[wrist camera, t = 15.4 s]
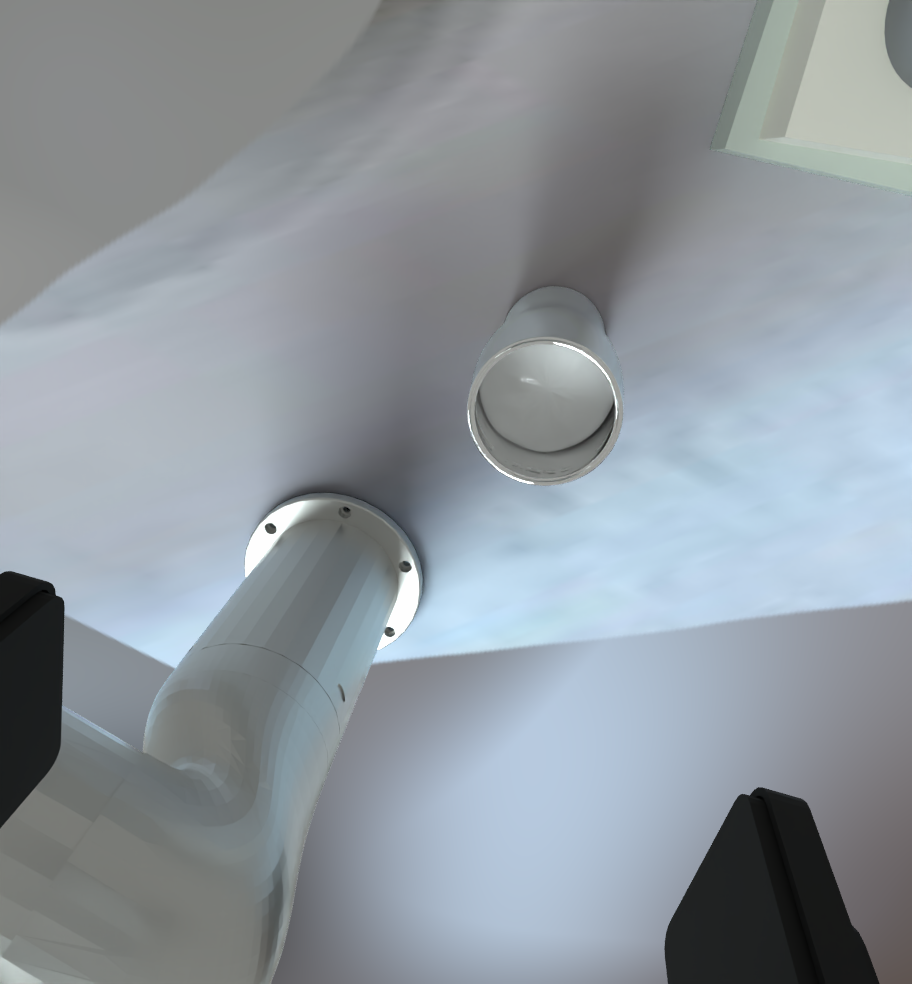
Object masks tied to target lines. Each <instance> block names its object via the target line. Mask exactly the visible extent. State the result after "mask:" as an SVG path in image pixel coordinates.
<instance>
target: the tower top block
mask: <svg viewBox="0 0 912 984" xmlns="http://www.w3.org/2000/svg"><path fill="white" fill-rule="evenodd" d="M888 4H889V0H799V1H798V5H797V8H796V11H795V15H794V18H793V22H792V25H791V29H790V32H789V36H788V39H787V43H786V46H785V49H784V53H783V56H782V60H781V63H780V67H779V70H778V74H777V77H776V81H775V84H774V87H773V91H772V94H771V98H770V101H769V105H768V108H767V112H766V115H765V119H764V122H763V125H762V129H761V132H760V136H759V139H758V140H764V141H770V142H776V143H783V144H789V145H795V146H801V147H807V148H813V149H819V150H825V151H831V152H837V153H843V154H849V155H855V156H861V157H867V158H873V159H879V160H885V161H891V162H897V163H903V164H909V165H912V88H911V87H909V86H908V85H907V84H906V83H905V82H904V81H903V80H902V79H901V78H900V77H899V76H898V74H897V73H896V71H895V70H894V68H893V66H892V64H891V62H890V59H889V57H888V54H887V49H886V45H885V34H884V31H885V18H886V12H887V7H888Z"/></svg>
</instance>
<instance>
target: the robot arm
mask: <svg viewBox="0 0 912 984" xmlns="http://www.w3.org/2000/svg"><path fill="white" fill-rule="evenodd" d="M345 507H348V508H349V509H350V510H347V509H346V508H345ZM273 524H274V525H273ZM405 561H407V562H409V563H406V562H405ZM244 567H245V580H244V581H243V582H242V584H241V585H240V586H239V587H238V589H237V590H236V591H235V593H234V594H233V595H232V596H231V598H230V599H229V600H228V602H227V603H226V604H225V605H224V607H223V608H222V609H221V611H220V612H219V613H218V614H217V616H216V617H215V618H214V619H213V621H212V622H211V623H210V625H209V626H208V627H207V628H206V630H205V631H204V632H203V634H202V635H201V636H200V637H199V639H198V640H197V641H196V643H195V644H194V645H193V646H192V648H191V649H190V650H189V652H188V653H187V654H186V655H185V657H184V658H183V659H182V661H181V662H180V663H179V664H178V666H177V667H176V668H175V670H174V671H173V672H172V674H171V675H170V676H169V677H168V679H167V680H166V682H165V683H164V685H163V686H162V687H161V689H160V691H159V692H158V694H157V696H156V698H155V700H154V703H153V705H152V708H151V710H150V713H149V716H148V720H147V725H146V729H145V735H144V743H143V752H141V751H139V750H138V749H136V748H134V747H132V746H131V745H129V744H127V743H126V742H124V741H122V740H121V739H119V738H117V737H116V736H114V735H112V734H111V733H109V732H107V731H105V730H104V729H102V728H100V727H99V726H97V725H95V724H94V723H92V722H90V721H89V720H87V719H85V718H83V717H82V716H80V715H78V714H77V713H75V712H73V711H72V710H70V709H68V708H66V707H65V706H63V705H62V684H63V683H62V682H63V644H64V601H63V599H62V598H61V597H59V596H56V594H55V588H54V586H53V584H51V583H49V582H47V581H43V580H40V579H36V578H33V577H29V576H26V575H22V574H19V573H15V572H12V571H8V572H4V573H2V574H0V984H270V983H271V981H272V978H273V976H274V973H275V970H276V968H277V965H278V962H279V959H280V956H281V953H282V950H283V946H284V942H285V938H286V934H287V930H288V926H289V921H290V916H291V912H292V906H293V901H294V895H295V889H296V883H297V877H298V872H299V867H300V862H301V857H302V852H303V848H304V844H305V840H306V836H307V832H308V829H309V826H310V823H311V820H312V817H313V813H314V810H315V807H316V804H317V801H318V798H319V796H320V793H321V790H322V788H323V785H324V782H325V780H326V777H327V775H328V772H329V770H330V767H331V764H332V762H333V760H334V757H335V754H336V752H337V748H338V746H339V744H340V741H341V739H342V736H343V734H344V731H345V729H346V726H347V724H348V721H349V719H350V716H351V714H352V711H353V709H354V706H355V704H356V701H357V699H358V696H359V693H360V691H361V689H362V686H363V684H364V681H365V679H366V676H367V674H368V671H369V669H370V666H371V664H372V661H373V659H374V656H375V654H376V651H377V650H379V649H382V648H384V647H386V646H387V645H389V644H390V643H392V642H394V641H395V640H396V639H397V638H398V637H399V636H401V635H402V634H403V633H404V632H405V631H406V629H407V628H408V626H409V625H410V623H411V622H412V620H413V619H414V616H415V614H416V611H417V609H418V606H419V603H420V599H421V595H422V584H423V576H422V571H421V565H420V561H419V558H418V556H417V553H416V551H415V548H414V546H413V545H412V543H411V542H410V540H409V538H408V537H407V535H406V534H405V532H404V531H403V530H402V529H401V528H400V527H399V526H398V525H397V524H396V523H395V522H394V521H393V520H392V519H391V518H390V517H388V516H387V515H386V514H384V513H383V512H382V511H381V510H379V509H377V508H376V507H374V506H372V505H370V504H368V503H366V502H364V501H362V500H359V499H356V498H353V497H350V496H347V495H340V494H333V493H311V494H307V495H302V496H298V497H295V498H292V499H290V500H288V501H286V502H284V503H281V504H280V505H279V506H277V507H276V508H275V509H273V510H272V511H271V512H269V513H268V514H267V515H266V517H265V518H264V519H263V520H262V521H261V522H260V523H259V525H258V526H257V528H256V529H255V531H254V532H253V534H252V535H251V538H250V540H249V543H248V546H247V548H246V554H245V561H244ZM665 961H666V969H667V978H668V984H879V981H878V978H877V976H876V973H875V970H874V968H873V965H872V962H871V959H870V957H869V954H868V951H867V949H866V946H865V944H864V942H863V940H862V938H861V936H860V934H859V932H858V931H857V930H856V929H855V928H854V927H853V926H852V925H851V922H850V919H849V916H848V913H847V911H846V908H845V905H844V902H843V899H842V897H841V894H840V891H839V888H838V885H837V883H836V880H835V877H834V874H833V872H832V869H831V866H830V863H829V861H828V858H827V855H826V852H825V850H824V847H823V844H822V841H821V838H820V836H819V833H818V830H817V827H816V825H815V822H814V819H813V816H812V813H811V811H810V808H809V806H808V805H807V803H806V802H805V801H804V800H802V799H800V798H797V797H793V796H790V795H786V794H783V793H779V792H776V791H772V790H769V789H765V788H759V787H758V788H757V789H755V790H754V791H753V792H752V793H751V795H750V796H749V795H745V794H741V795H740V796H738V798H737V799H736V801H735V802H734V804H733V806H732V808H731V810H730V812H729V813H728V815H727V817H726V819H725V821H724V823H723V825H722V826H721V828H720V830H719V832H718V834H717V836H716V837H715V839H714V841H713V843H712V845H711V847H710V849H709V851H708V852H707V854H706V856H705V858H704V860H703V862H702V863H701V865H700V867H699V869H698V871H697V873H696V875H695V876H694V878H693V880H692V882H691V884H690V886H689V888H688V889H687V891H686V893H685V895H684V897H683V899H682V901H681V903H680V904H679V906H678V908H677V910H676V912H675V914H674V915H673V917H672V919H671V921H670V923H669V926H668V929H667V932H666V938H665Z"/></svg>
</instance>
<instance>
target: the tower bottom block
mask: <svg viewBox="0 0 912 984" xmlns="http://www.w3.org/2000/svg"><path fill="white" fill-rule="evenodd" d="M798 1H799V0H757V4H756V7H755V10H754V13H753V16H752V19H751V22H750V25H749V28H748V32H747V35H746V38H745V41H744V44H743V47H742V50H741V53H740V56H739V60H738V63H737V66H736V69H735V72H734V75H733V78H732V81H731V84H730V88H729V91H728V94H727V97H726V100H725V103H724V106H723V109H722V112H721V116H720V119H719V122H718V125H717V128H716V131H715V134H714V137H713V140H712V143H711V147H710V150H714V151H718V152H723V153H727V154H731V155H736V156H740V157H744V158H749V159H753V160H757V161H762V162H766V163H770V164H774V165H779V166H783V167H787V168H792V169H796V170H800V171H805V172H809V173H813V174H818V175H822V176H826V177H830V178H835V179H839V180H843V181H848V182H852V183H856V184H861V185H865V186H869V187H874V188H878V189H882V190H886V191H891V192H895V193H899V194H904V195H908V196H912V165H909V164H903V163H897V162H891V161H885V160H879V159H873V158H867V157H861V156H855V155H849V154H843V153H837V152H831V151H825V150H819V149H813V148H807V147H801V146H795V145H789V144H783V143H776V142H770V141H764V140H758V139H759V136H760V132H761V129H762V125H763V122H764V119H765V115H766V112H767V108H768V105H769V101H770V98H771V94H772V91H773V87H774V84H775V81H776V77H777V74H778V70H779V67H780V63H781V60H782V56H783V53H784V49H785V46H786V43H787V39H788V36H789V32H790V29H791V25H792V22H793V18H794V15H795V11H796V8H797V5H798Z"/></svg>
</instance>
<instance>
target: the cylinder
mask: <svg viewBox="0 0 912 984" xmlns="http://www.w3.org/2000/svg"><path fill="white" fill-rule="evenodd" d="M884 34H885V45H886V49H887V54H888V57H889V59H890V62H891V64H892V66H893V68H894V70H895V71H896V73H897V74H898V76H899V77H900V78H901V79H902V80H903V81H904V82H905V83H906V84H907V85H908V86H909V87H911V88H912V0H889V4H888V7H887V12H886V18H885V31H884Z"/></svg>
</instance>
